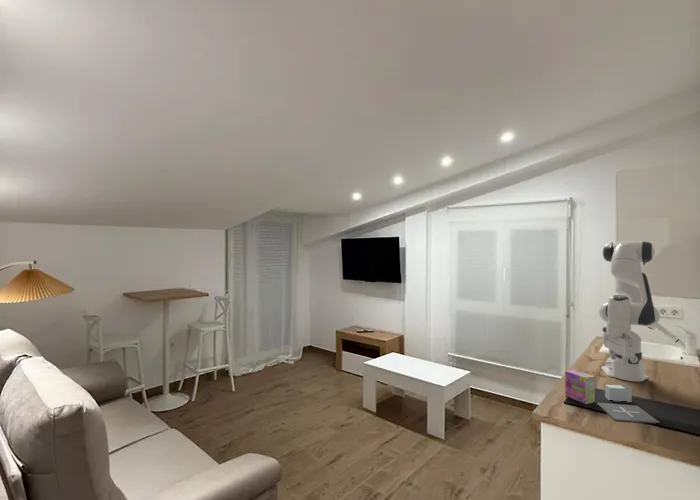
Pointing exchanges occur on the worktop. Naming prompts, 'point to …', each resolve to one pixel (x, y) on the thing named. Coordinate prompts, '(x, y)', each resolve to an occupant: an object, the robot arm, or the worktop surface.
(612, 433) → the worktop surface
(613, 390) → the block
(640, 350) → the robot arm
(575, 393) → the box
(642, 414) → the mat
